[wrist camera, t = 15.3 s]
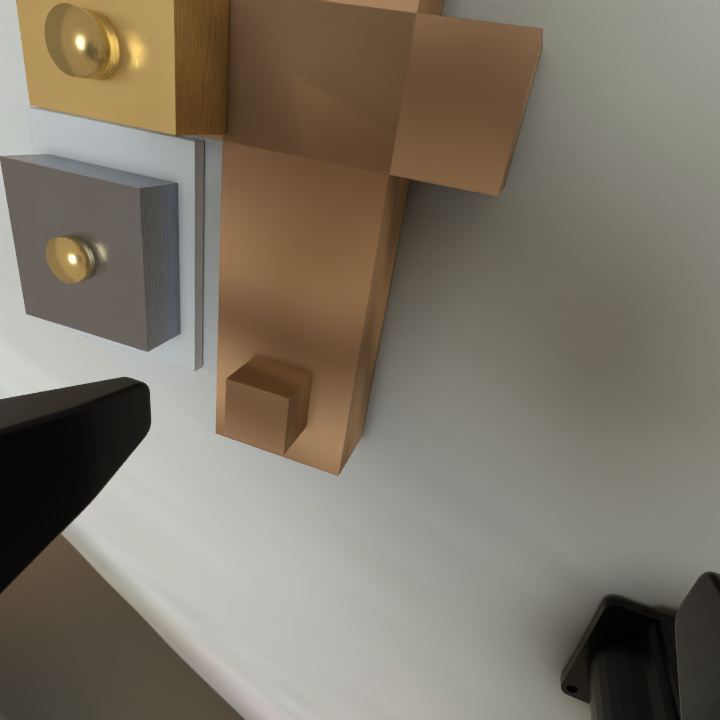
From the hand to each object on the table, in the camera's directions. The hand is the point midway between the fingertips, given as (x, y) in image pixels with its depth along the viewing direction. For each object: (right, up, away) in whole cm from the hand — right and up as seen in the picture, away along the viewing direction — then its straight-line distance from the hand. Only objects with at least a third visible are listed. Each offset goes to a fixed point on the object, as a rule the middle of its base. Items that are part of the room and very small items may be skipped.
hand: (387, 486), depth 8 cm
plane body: (-1, +9, +10) cm, 14 cm away
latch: (-7, +11, +8) cm, 15 cm away
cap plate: (-11, +7, +14) cm, 19 cm away
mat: (-11, +7, +15) cm, 20 cm away
